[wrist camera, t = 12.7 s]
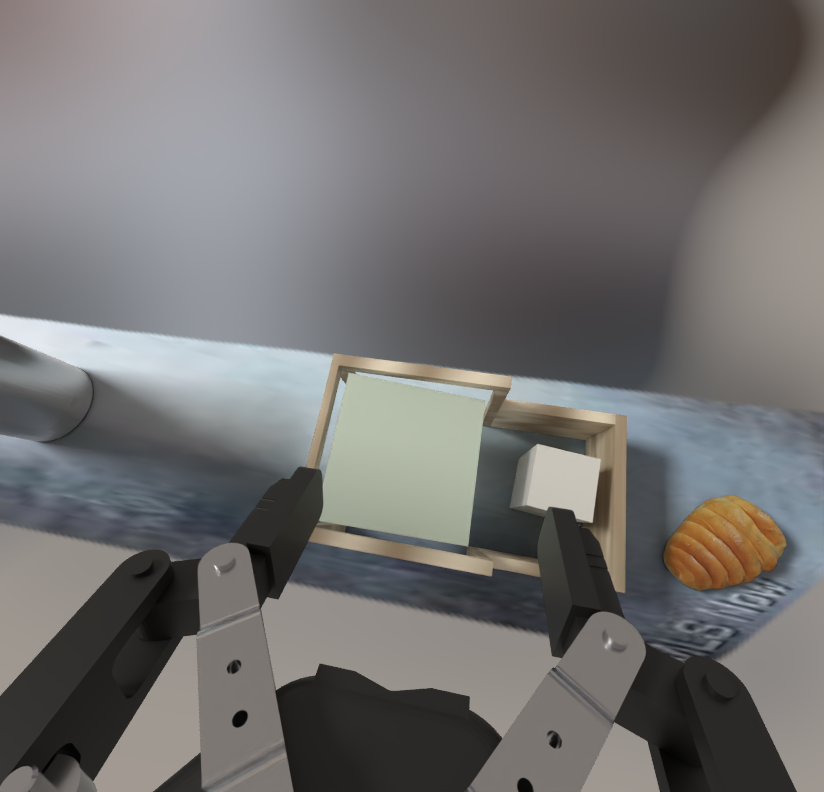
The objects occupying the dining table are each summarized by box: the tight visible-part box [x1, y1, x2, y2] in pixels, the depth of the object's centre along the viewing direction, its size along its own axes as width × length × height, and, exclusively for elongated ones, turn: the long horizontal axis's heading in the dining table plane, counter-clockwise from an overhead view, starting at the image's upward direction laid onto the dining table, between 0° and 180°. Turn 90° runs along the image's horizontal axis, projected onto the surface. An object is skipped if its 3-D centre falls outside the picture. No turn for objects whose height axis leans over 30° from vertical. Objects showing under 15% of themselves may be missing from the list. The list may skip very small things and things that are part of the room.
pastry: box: [663, 495, 787, 591], centre depth 34 cm, size 9×7×4 cm
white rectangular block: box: [510, 444, 601, 523], centre depth 34 cm, size 5×5×8 cm
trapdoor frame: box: [306, 354, 627, 593], centre depth 33 cm, size 24×14×12 cm, turn 80°
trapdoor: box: [319, 373, 485, 546], centre depth 29 cm, size 11×11×1 cm
